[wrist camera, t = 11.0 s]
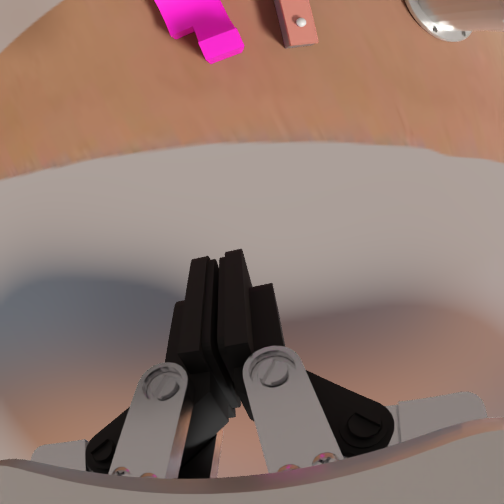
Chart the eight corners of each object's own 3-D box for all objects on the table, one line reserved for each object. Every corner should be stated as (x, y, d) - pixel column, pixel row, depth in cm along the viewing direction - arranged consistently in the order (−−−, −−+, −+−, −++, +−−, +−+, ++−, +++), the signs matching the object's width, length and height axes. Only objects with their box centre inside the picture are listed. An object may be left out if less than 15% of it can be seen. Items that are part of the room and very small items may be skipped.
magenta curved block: (146, -25, 23) (128, -44, 17) (195, -45, 23) (188, -69, 16) (190, 72, 31) (181, 71, 25) (241, 52, 30) (244, 46, 24)
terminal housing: (294, -20, 25) (302, -31, 21) (310, 45, 30) (320, 42, 26) (269, -17, 25) (274, -28, 21) (285, 48, 30) (292, 44, 26)
